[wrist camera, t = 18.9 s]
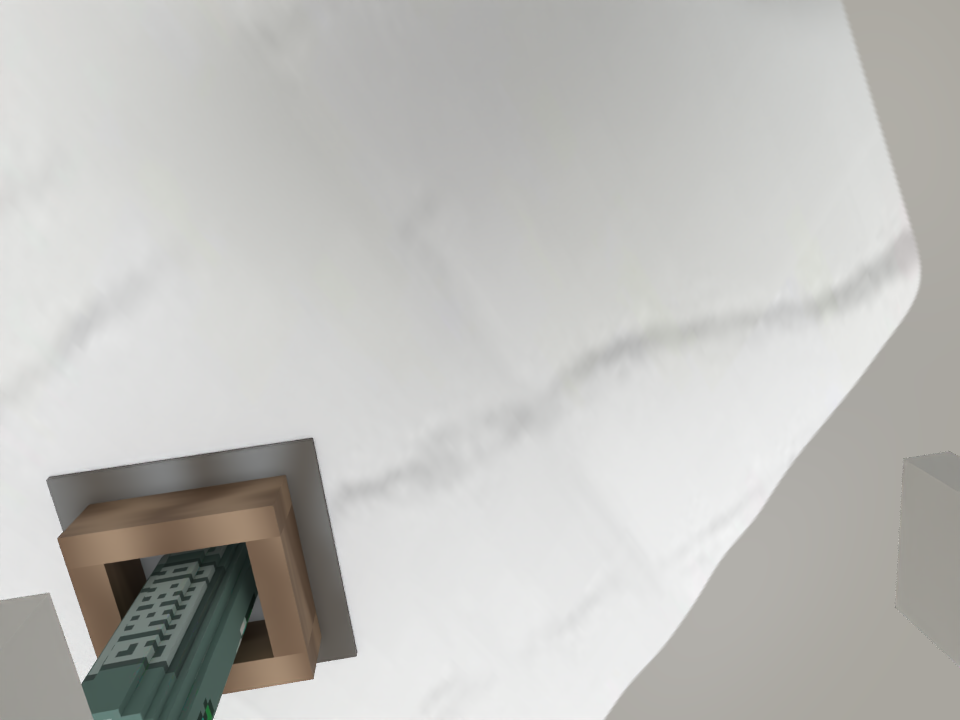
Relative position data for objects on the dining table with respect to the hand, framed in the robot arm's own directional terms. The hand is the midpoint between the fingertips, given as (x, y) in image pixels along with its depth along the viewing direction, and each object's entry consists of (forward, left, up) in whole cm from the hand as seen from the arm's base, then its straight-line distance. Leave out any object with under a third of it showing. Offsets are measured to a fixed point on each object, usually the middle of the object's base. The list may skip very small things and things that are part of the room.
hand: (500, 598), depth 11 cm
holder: (+17, +17, -32) cm, 40 cm away
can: (+17, +17, -31) cm, 40 cm away
